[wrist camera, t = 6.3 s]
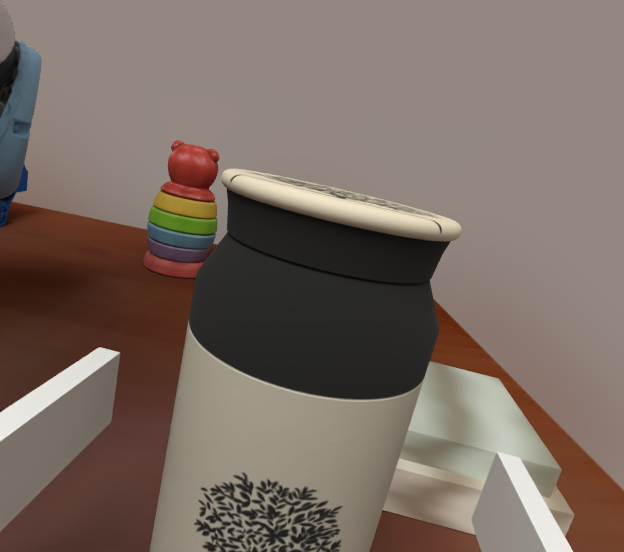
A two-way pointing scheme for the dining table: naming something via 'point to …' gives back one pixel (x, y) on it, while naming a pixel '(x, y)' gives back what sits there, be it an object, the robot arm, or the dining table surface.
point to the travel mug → (299, 369)
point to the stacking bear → (183, 213)
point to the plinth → (449, 498)
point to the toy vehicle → (2, 204)
